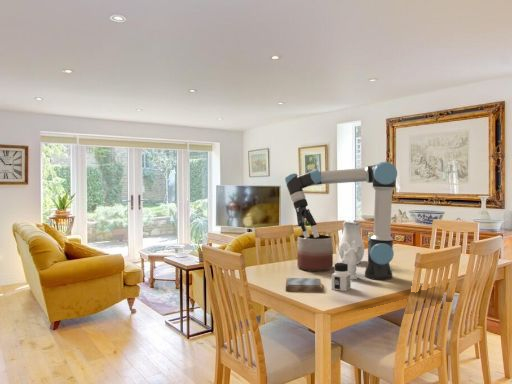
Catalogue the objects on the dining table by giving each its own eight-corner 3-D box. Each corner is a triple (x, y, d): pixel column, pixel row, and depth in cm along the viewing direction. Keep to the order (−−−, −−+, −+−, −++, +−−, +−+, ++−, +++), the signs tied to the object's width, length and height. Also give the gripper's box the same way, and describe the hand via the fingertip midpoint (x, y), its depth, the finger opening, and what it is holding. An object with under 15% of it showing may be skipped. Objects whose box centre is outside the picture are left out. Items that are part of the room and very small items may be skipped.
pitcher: (367, 264, 259) (367, 222, 258) (341, 264, 259) (341, 222, 258) (358, 257, 282) (358, 218, 282) (334, 257, 283) (334, 218, 282)
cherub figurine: (337, 276, 228) (337, 238, 227) (355, 274, 232) (355, 237, 232) (349, 281, 216) (349, 240, 216) (368, 279, 221) (368, 239, 220)
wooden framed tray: (320, 283, 211) (320, 278, 211) (322, 291, 196) (322, 285, 195) (286, 282, 213) (286, 277, 213) (285, 291, 197) (285, 285, 197)
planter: (291, 269, 245) (291, 237, 244) (304, 263, 264) (304, 233, 264) (326, 273, 234) (326, 239, 234) (337, 266, 254) (337, 235, 253)
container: (346, 291, 196) (346, 265, 196) (331, 289, 200) (331, 263, 200) (350, 287, 203) (350, 262, 203) (336, 285, 207) (336, 261, 206)
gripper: (302, 204, 231) (314, 239, 225) (283, 201, 210) (296, 239, 204) (313, 199, 228) (326, 234, 222) (295, 196, 206) (309, 234, 201)
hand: (312, 237), depth 213 cm, fingers open, 13 cm apart
